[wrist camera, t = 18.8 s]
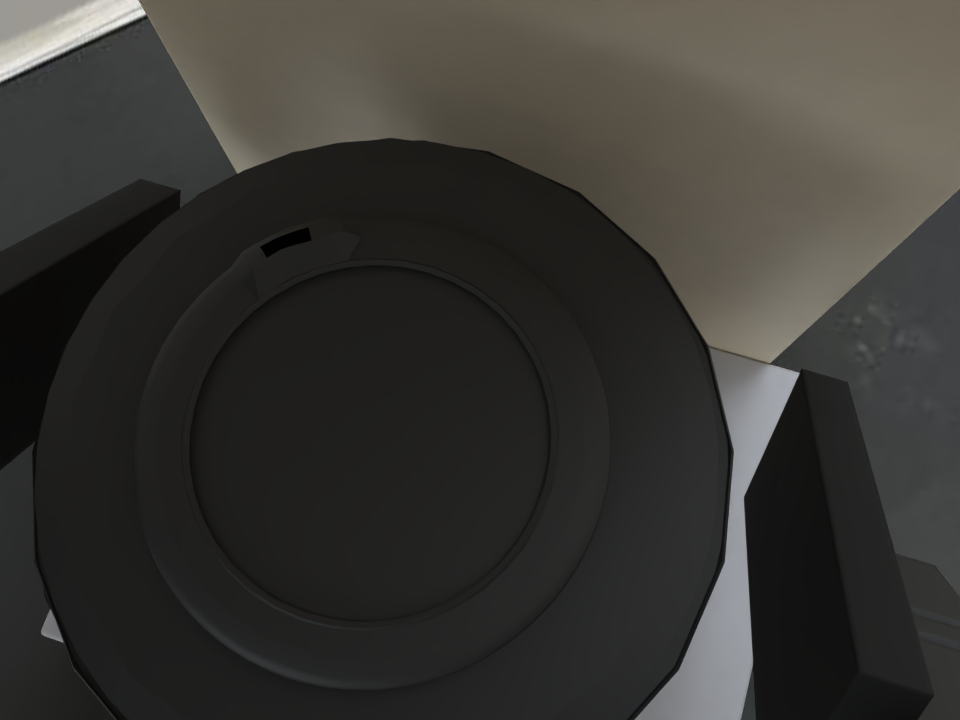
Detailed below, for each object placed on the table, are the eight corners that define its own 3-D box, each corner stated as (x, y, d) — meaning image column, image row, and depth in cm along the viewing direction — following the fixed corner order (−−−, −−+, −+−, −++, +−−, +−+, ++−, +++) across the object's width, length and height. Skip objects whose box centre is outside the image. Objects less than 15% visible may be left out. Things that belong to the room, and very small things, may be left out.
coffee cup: (394, 273, 20) (310, -34, 11) (699, 483, 19) (911, 345, 9) (155, 571, 19) (-198, 519, 9) (472, 826, 17) (449, 1084, 8)
